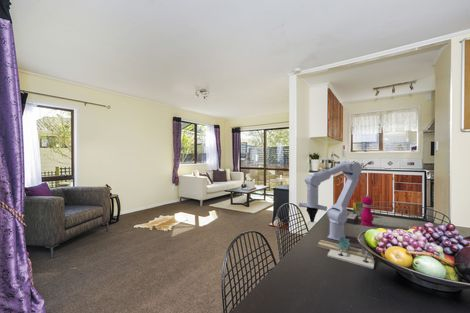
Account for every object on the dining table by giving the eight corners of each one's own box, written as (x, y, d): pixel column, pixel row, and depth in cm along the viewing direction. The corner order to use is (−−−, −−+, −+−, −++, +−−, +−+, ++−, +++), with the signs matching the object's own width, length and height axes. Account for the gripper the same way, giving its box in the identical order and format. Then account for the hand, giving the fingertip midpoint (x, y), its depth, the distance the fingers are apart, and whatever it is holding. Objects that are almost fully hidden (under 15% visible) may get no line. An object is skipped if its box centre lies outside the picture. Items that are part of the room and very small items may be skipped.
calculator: (358, 214, 155) (354, 218, 143) (358, 220, 155) (354, 224, 143) (341, 211, 162) (337, 215, 150) (341, 217, 162) (336, 221, 150)
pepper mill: (358, 223, 144) (358, 194, 144) (365, 222, 147) (365, 193, 147) (368, 227, 138) (369, 196, 137) (375, 225, 141) (376, 195, 140)
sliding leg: (340, 245, 109) (340, 237, 108) (349, 247, 106) (349, 239, 106) (336, 253, 100) (336, 244, 100) (345, 255, 98) (346, 247, 98)
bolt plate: (330, 250, 105) (330, 249, 105) (374, 262, 95) (374, 260, 95) (327, 256, 100) (327, 254, 100) (373, 269, 89) (373, 267, 89)
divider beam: (320, 242, 115) (320, 233, 115) (374, 255, 101) (374, 244, 100) (314, 250, 106) (314, 240, 106) (372, 265, 92) (372, 254, 92)
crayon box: (361, 214, 165) (361, 199, 164) (364, 215, 162) (364, 200, 162) (352, 215, 164) (353, 200, 163) (355, 216, 161) (355, 201, 160)
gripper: (296, 196, 118) (296, 221, 118) (324, 200, 109) (324, 226, 110) (301, 194, 123) (301, 217, 124) (328, 197, 115) (327, 222, 115)
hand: (312, 221), depth 117 cm, fingers closed
